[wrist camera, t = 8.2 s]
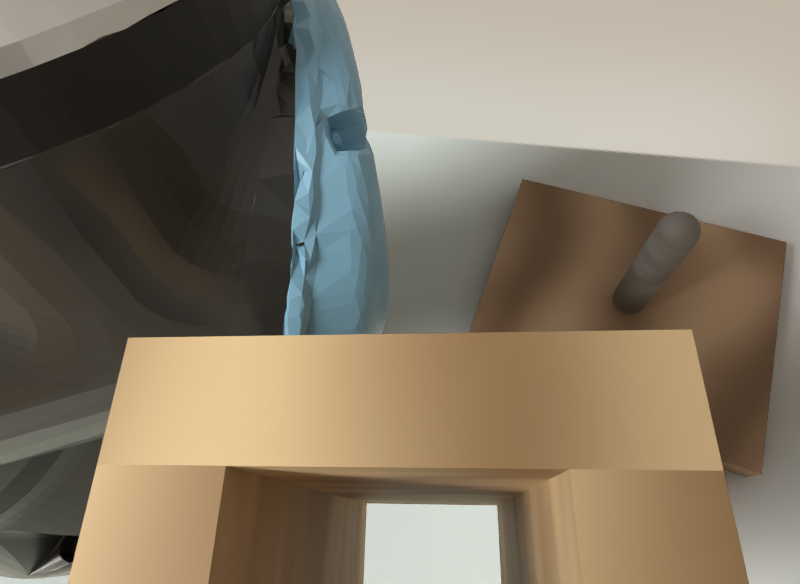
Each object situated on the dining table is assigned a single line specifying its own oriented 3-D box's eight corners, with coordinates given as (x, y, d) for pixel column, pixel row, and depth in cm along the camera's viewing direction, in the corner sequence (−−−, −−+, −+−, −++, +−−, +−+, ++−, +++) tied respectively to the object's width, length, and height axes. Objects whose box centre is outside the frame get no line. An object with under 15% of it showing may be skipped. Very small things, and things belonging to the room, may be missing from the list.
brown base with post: (456, 377, 31) (455, 308, 22) (520, 192, 36) (542, 70, 27) (746, 476, 27) (899, 445, 18) (772, 254, 32) (903, 138, 23)
